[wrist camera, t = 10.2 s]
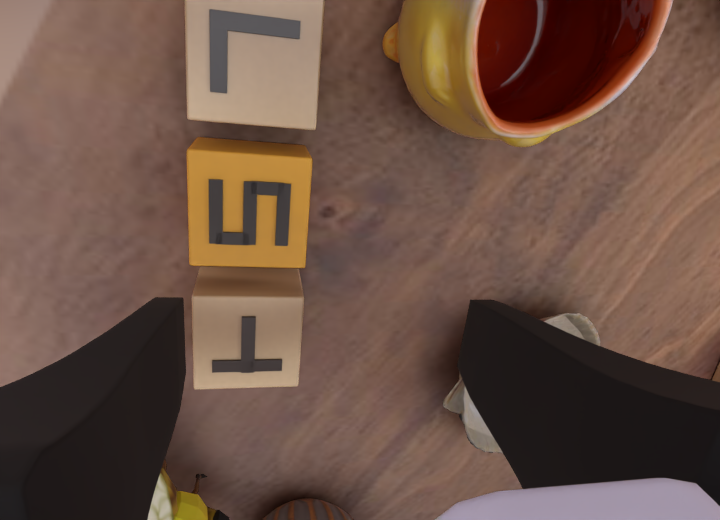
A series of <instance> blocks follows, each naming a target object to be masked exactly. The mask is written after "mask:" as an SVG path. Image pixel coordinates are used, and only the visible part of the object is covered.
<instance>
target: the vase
mask: <svg viewBox="0 0 720 520" xmlns="http://www.w3.org/2000/svg"><path fill="white" fill-rule="evenodd" d="M262 520H354V519H353V518H352V517H351V516H350V515H349V514H348V513H347V512H345V511H344V510H342V509H341V508H339V507H338V506H336V505H334V504H331V503H329V502H326V501H323V500H318V499H310V498H306V499H298V500H293V501H290V502H288V503H285V504H283V505H281V506H280V507H278V508H276V509H275V510H273V511H272V512H271V513H269V514H268V515H267V516H265V517H264V518H263V519H262Z"/></svg>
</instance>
